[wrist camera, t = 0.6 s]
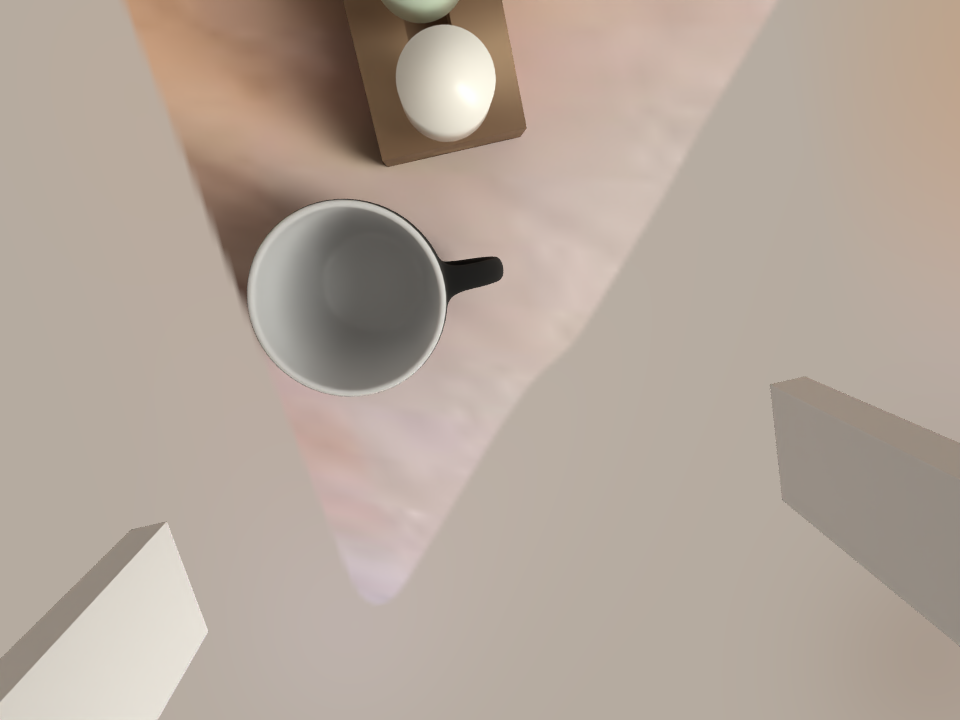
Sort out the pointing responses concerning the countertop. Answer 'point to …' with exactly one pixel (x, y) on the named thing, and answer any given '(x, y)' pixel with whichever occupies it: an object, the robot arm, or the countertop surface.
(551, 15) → the countertop surface
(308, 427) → the countertop surface
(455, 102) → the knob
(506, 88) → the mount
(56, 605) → the robot arm
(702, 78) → the countertop surface
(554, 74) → the countertop surface
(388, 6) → the knob mid
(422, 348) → the mug
